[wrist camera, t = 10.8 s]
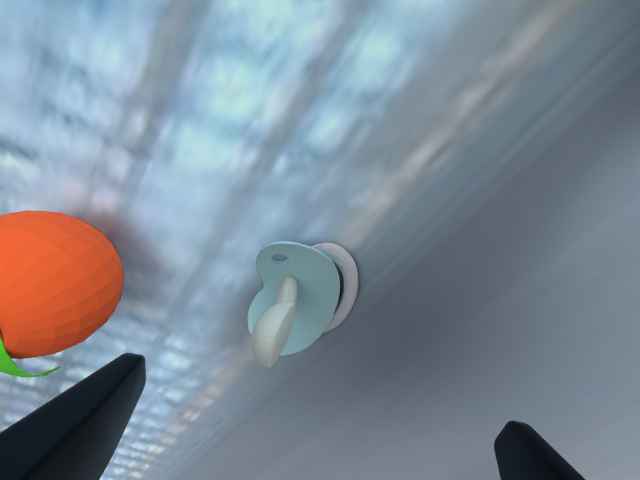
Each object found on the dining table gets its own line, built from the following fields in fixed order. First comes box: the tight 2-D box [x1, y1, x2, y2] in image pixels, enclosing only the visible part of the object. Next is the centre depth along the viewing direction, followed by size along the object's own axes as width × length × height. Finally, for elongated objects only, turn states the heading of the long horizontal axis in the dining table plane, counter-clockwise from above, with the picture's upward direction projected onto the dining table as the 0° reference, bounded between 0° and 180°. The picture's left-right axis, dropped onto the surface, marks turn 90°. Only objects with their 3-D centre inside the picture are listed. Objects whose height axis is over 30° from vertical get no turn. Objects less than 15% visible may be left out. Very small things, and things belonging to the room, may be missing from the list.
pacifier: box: [248, 241, 358, 369], centre depth 17 cm, size 7×6×6 cm
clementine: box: [0, 211, 124, 377], centre depth 16 cm, size 8×7×7 cm
